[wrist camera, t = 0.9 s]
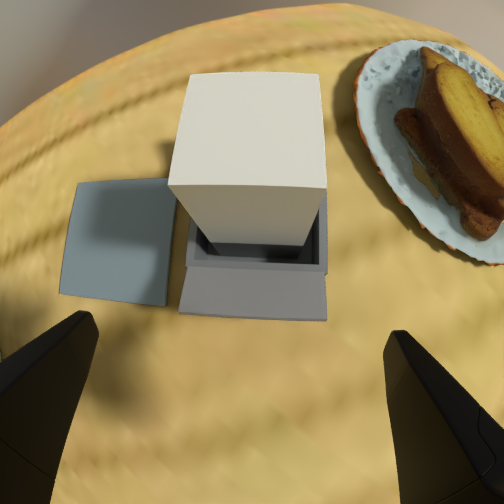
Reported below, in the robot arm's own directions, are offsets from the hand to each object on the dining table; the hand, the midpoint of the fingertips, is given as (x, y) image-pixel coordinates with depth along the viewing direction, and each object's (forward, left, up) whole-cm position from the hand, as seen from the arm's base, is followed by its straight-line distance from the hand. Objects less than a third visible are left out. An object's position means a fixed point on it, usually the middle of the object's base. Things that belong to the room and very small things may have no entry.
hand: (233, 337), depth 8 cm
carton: (+6, +5, -13) cm, 15 cm away
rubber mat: (-3, +13, -13) cm, 18 cm away
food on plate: (+27, -3, -14) cm, 30 cm away
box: (+6, +5, -13) cm, 15 cm away
